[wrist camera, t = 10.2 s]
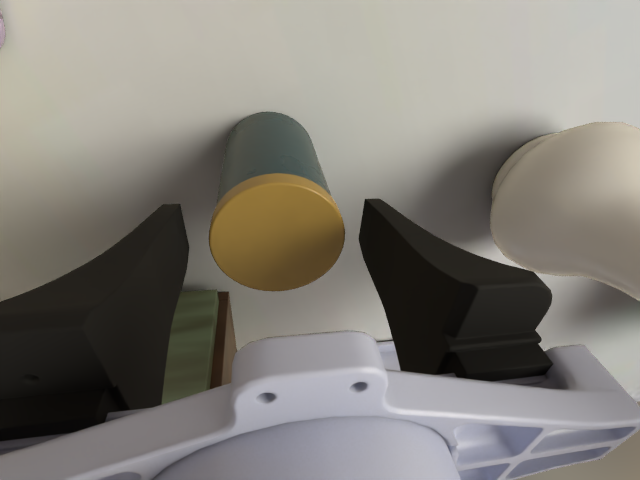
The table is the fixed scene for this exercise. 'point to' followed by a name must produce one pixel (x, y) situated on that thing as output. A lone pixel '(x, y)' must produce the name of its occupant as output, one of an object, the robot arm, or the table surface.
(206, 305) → the drawer
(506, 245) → the flower vase
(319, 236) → the tin
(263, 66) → the table surface
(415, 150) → the table surface
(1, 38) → the mobile phone
